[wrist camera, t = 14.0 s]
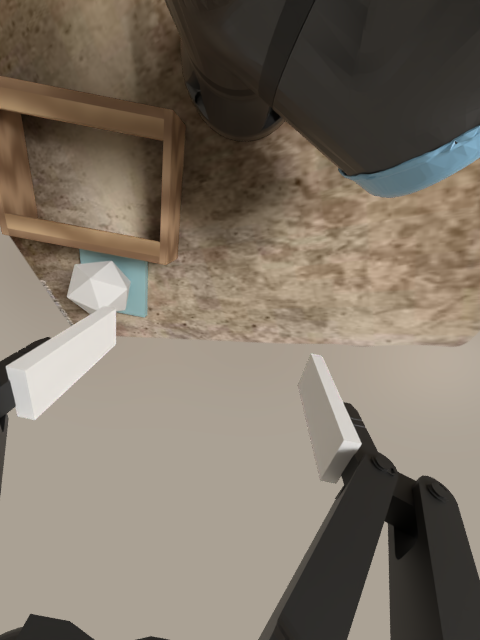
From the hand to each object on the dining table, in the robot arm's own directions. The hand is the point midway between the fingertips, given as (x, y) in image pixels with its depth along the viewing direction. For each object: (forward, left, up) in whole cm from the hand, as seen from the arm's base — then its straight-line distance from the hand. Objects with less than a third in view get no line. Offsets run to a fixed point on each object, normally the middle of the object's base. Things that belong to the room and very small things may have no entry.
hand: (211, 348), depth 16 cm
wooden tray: (-9, -22, -26) cm, 35 cm away
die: (+6, -21, -25) cm, 33 cm away
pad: (+6, -21, -26) cm, 34 cm away
